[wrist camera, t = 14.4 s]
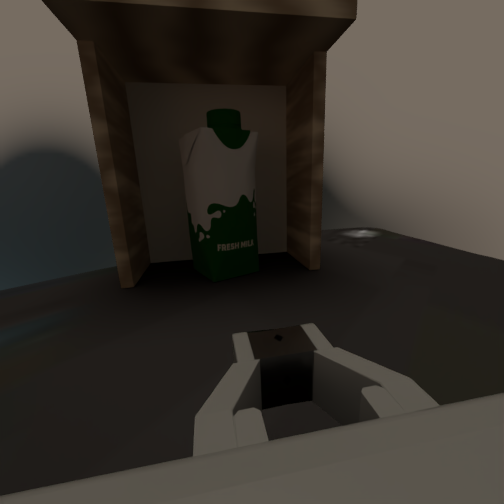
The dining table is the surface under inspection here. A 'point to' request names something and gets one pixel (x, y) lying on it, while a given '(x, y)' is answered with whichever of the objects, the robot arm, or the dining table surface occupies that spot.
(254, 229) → the milk carton
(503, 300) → the dining table surface
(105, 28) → the wooden shelf
